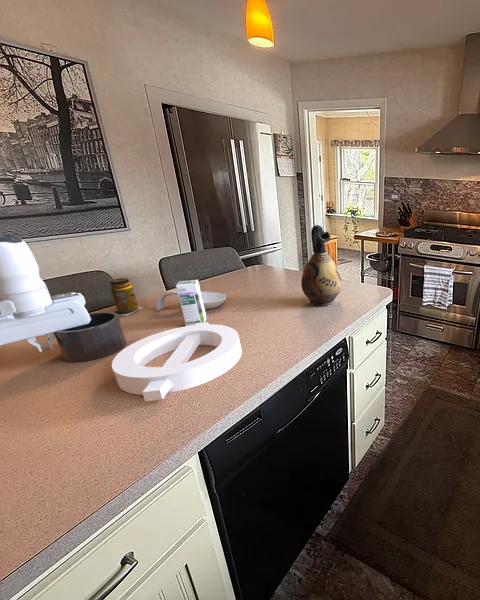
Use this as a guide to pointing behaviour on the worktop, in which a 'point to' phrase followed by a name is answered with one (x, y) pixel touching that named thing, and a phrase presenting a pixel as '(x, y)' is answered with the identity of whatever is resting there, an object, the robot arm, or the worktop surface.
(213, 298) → the spoon rest
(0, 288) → the robot arm
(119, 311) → the condiment
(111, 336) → the pot
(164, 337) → the white circle with bar
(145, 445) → the worktop surface
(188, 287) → the syrup box
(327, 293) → the ceramic jug
